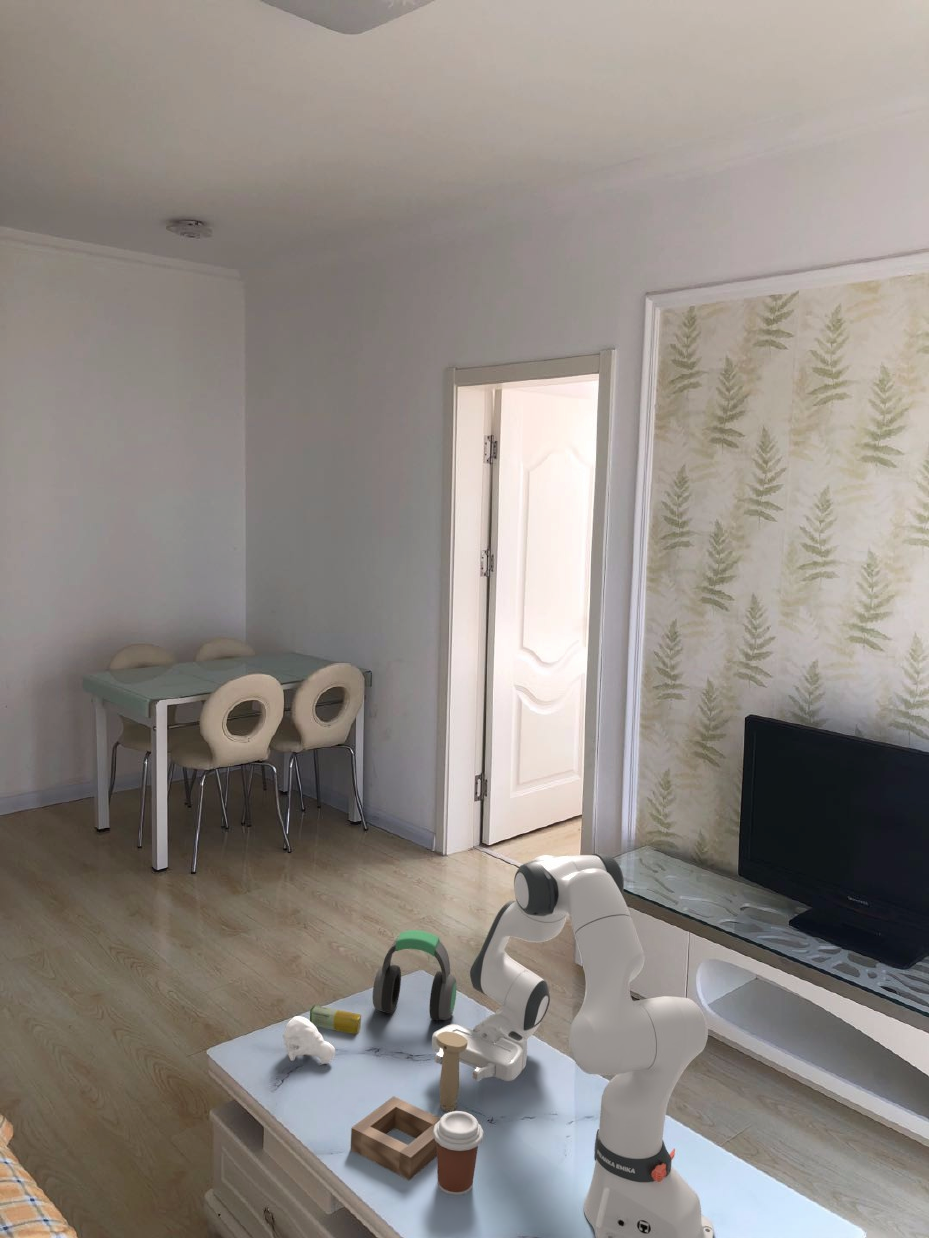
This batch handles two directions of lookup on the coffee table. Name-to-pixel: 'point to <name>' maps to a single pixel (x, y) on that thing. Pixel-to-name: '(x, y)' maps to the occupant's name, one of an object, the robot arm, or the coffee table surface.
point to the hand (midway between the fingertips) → (456, 1067)
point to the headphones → (390, 976)
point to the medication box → (335, 1019)
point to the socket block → (389, 1151)
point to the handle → (450, 1068)
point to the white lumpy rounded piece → (306, 1040)
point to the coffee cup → (457, 1151)
